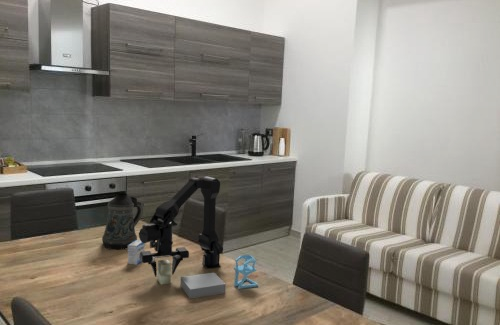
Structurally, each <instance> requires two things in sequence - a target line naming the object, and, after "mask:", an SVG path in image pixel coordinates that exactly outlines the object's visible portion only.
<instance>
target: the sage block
mask: <svg viewBox="0 0 500 325" xmlns="http://www.w3.org/2000/svg"><path fill="white" fill-rule="evenodd" d="M171 277H172V264H171V262H170V261H169V260H168V259H162V260H158V261H157V281H158V283H159V284H160V285H167V284H171V281H172V279H171Z"/></svg>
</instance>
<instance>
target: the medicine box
mask: <svg viewBox="0 0 500 325" xmlns="http://www.w3.org/2000/svg"><path fill="white" fill-rule="evenodd" d="M145 246H146V243H142V242H141V240H140V239H137V240H135V241H134V242H132V243H131V244H129V245H128V249H127V264H128V265H135V266H137V265H139V264H140V263H142V262H141V260H140V258H139V254H140V253H141V252H143V251H146V249H145Z"/></svg>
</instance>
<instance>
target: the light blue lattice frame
mask: <svg viewBox="0 0 500 325" xmlns="http://www.w3.org/2000/svg"><path fill="white" fill-rule="evenodd" d="M242 259H244V261H245V262H244V263H243V264H242V265H239V261H240V260H242ZM234 261H235V266H234V267H233V270H234V272H235V273H234V284H233V287H237V289H238V290H240V289H247V288H254V287H258V286H259V283H257V282H256V281H254V280H251V279H250V278H248V276H249V275H250V274H252V273H255V272H257V268H255V265H256V263H257V262H256V261H257V260H256V259H255V257H254V256H252V255H249V254H244V255H240V256H238V257H237V258H235V259H234ZM250 263H252V265H249V264H250ZM239 274H242V275H243V277H242V278H241V280H239ZM246 281H247V282H248V283H249V284H244V282H246Z"/></svg>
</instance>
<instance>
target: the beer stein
mask: <svg viewBox="0 0 500 325" xmlns="http://www.w3.org/2000/svg"><path fill="white" fill-rule="evenodd" d="M107 208H108V213H107V219H106V225H105V227H104V228H105V229H104V231H103V235H102V238H101V241H102V245H103V248H105V249H108V250H115V251H118V250H119V251H120V250H121V251H122V250H128V245H129V244H131V243H132V242H134V241H135V240H138V236H137V234H136V230H135V227H136V226H137V224H138V223H139V222H140V219H141V218H142V216H143V211H144V209H143V205H142V202H140V201H138V199H137V197H136V196H133V195H129V194H128V193H117V194H116V196H115V197H113V198H112V199H111V200H109V201H108V202H107ZM134 208H136V209H137V210H136V213H135V216H134V214H133V209H134Z"/></svg>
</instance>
